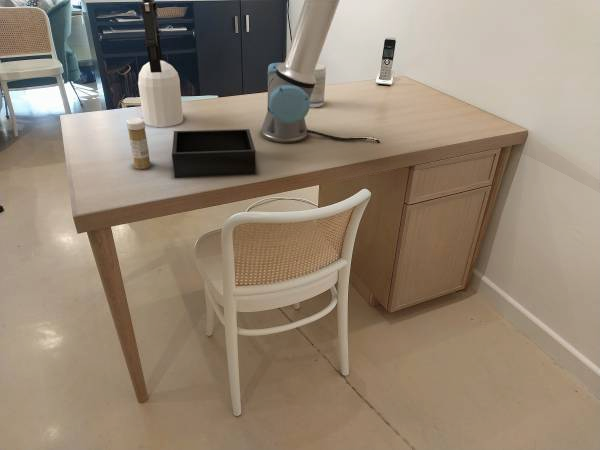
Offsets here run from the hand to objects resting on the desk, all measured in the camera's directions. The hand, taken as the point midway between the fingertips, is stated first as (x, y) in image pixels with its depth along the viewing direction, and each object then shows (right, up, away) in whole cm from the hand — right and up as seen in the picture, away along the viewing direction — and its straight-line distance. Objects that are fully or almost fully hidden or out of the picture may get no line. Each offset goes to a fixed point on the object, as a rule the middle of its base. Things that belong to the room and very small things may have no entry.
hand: (157, 65), depth 123 cm
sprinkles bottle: (-5, -27, +3) cm, 28 cm away
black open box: (+15, -26, +7) cm, 30 cm away
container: (-8, -7, +33) cm, 35 cm away
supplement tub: (+44, +4, +55) cm, 71 cm away
